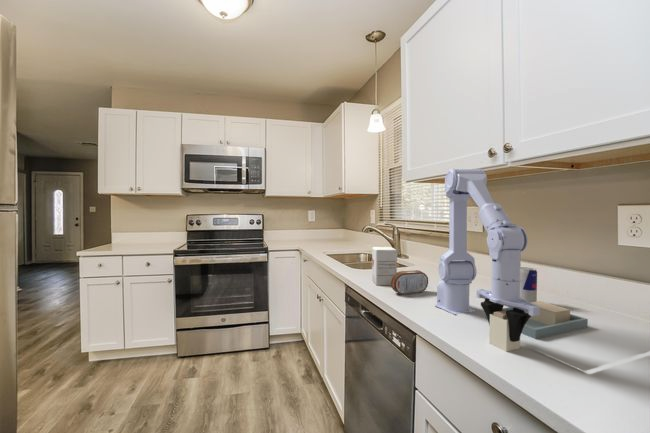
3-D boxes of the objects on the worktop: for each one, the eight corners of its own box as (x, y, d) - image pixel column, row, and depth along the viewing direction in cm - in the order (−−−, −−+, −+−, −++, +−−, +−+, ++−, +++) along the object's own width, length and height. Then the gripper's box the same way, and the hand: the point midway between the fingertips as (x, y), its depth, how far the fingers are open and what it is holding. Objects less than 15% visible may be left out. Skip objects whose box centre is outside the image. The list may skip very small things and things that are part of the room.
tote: (485, 320, 86) (486, 311, 85) (534, 312, 92) (534, 303, 92) (535, 341, 72) (535, 329, 72) (587, 329, 79) (587, 319, 79)
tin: (424, 290, 117) (424, 269, 117) (429, 292, 114) (429, 270, 114) (390, 293, 113) (390, 271, 112) (394, 296, 110) (395, 273, 109)
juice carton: (489, 343, 71) (489, 310, 71) (502, 340, 73) (503, 308, 73) (506, 351, 67) (506, 317, 67) (520, 348, 69) (520, 314, 69)
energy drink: (538, 308, 96) (539, 270, 96) (519, 306, 98) (519, 269, 98) (533, 303, 101) (534, 267, 101) (515, 301, 103) (516, 266, 103)
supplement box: (371, 280, 133) (371, 246, 133) (391, 280, 134) (391, 246, 133) (375, 285, 124) (375, 249, 124) (397, 285, 125) (397, 249, 124)
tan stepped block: (525, 316, 87) (525, 303, 87) (539, 314, 89) (540, 301, 89) (555, 327, 79) (555, 312, 79) (569, 324, 81) (570, 309, 81)
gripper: (467, 273, 75) (466, 327, 76) (523, 288, 62) (522, 353, 62) (488, 271, 78) (487, 323, 78) (547, 284, 64) (545, 347, 64)
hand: (504, 336), depth 70 cm, fingers closed on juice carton, 4 cm apart
